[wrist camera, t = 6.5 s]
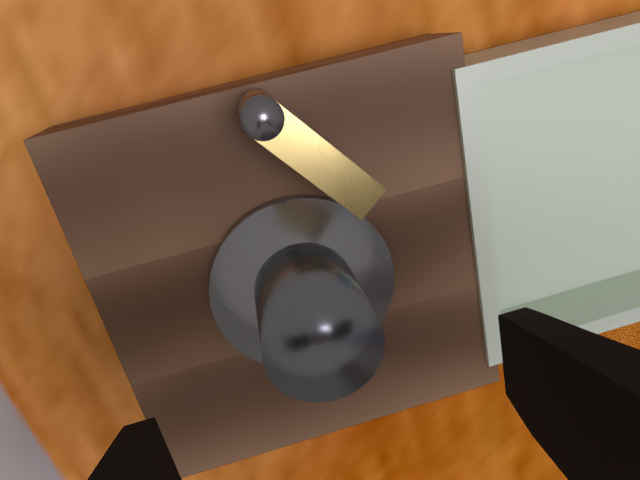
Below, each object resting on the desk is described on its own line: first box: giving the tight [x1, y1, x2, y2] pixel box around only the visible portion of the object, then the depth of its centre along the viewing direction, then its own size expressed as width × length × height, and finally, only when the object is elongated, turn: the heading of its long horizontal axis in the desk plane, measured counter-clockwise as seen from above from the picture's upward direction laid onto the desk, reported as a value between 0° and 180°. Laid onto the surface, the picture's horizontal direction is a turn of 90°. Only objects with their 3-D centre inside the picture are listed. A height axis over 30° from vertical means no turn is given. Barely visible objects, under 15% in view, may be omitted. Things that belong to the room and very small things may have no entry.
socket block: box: [24, 32, 500, 478], centre depth 18 cm, size 12×12×2 cm
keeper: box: [238, 88, 387, 220], centre depth 14 cm, size 4×1×2 cm, turn 51°
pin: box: [209, 194, 394, 403], centre depth 16 cm, size 6×6×6 cm
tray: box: [452, 11, 640, 367], centre depth 18 cm, size 10×10×3 cm
